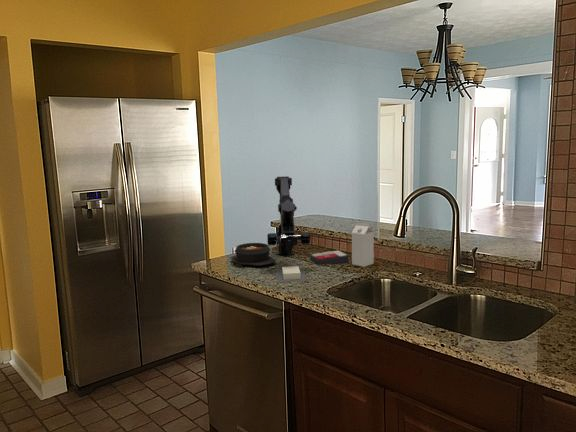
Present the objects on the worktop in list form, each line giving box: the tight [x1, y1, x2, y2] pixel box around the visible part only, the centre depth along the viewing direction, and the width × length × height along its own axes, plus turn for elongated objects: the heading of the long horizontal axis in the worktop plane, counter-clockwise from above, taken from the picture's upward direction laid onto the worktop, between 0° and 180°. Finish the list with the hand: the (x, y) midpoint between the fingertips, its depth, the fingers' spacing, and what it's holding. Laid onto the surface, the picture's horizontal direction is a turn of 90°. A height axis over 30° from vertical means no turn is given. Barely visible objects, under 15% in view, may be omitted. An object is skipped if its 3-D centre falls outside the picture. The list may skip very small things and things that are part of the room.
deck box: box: [281, 265, 301, 280], centre depth 202 cm, size 3×7×11 cm
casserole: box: [230, 242, 277, 267], centre depth 226 cm, size 25×19×8 cm
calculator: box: [309, 250, 349, 266], centre depth 226 cm, size 11×4×15 cm
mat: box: [275, 267, 308, 283], centre depth 204 cm, size 20×12×1 cm, turn 4°
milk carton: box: [351, 222, 375, 268], centre depth 218 cm, size 7×7×19 cm
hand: (290, 255), depth 205 cm, fingers closed
